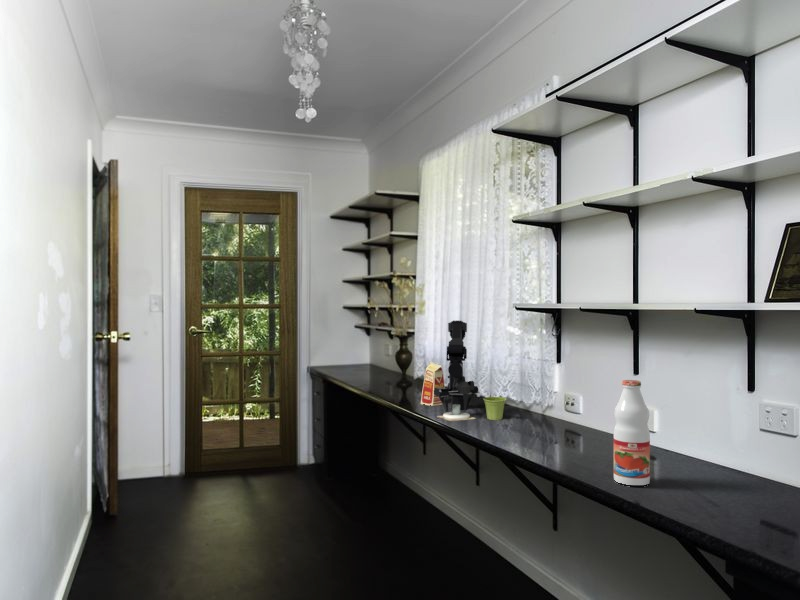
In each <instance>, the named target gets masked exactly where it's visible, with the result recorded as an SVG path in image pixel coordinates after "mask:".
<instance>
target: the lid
mask: <svg viewBox="0 0 800 600" xmlns="http://www.w3.org/2000/svg"><path fill="white" fill-rule="evenodd" d="M451 410H452V411H450V412H444V413H443V414H442V415H443V418H445V419H444V420H446V419H450V420H460V421H465V420H464V419H469V418H470V417H471V415H470V413H468V412H464V411H463V412H462V411H461V410H460V405H459V404H453V405H452V409H451ZM443 418H442V419H443ZM469 420H470V419H469Z"/></svg>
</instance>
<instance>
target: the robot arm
mask: <svg viewBox="0 0 800 600" xmlns="http://www.w3.org/2000/svg"><path fill="white" fill-rule="evenodd" d="M447 332H448V333H449V337H450V338H451V340H449V341H448V345H447V346H446V361H447V362H449V365H448V368H447V372H448V374H449V375H447V379H448V383H447V387H445V388H443V387H439V388H435V389H434V395H436V396H437V397H439V398H440V400H441V402H442V404H443V405H442V407H443V409H444V411H445V413H447V412H448V411H449V409H450V410H452V405H453V404H459V405H460V411H463V410H465V411H467V410H468V408H469V406H470V405H469V404H470V402H471V400H472V398H473V397H474V396H476V394H479V387H478V386H477V385H475V381H473V380H469V381H466V377H465V376H464V362H465V361H466V360H467V358H468V357H467V356H468V355H467V353H468V351H467V347H466V346H465V345H464V339H465V337H466V333H467V332H468V323H467V322H464V321H463V320H452V321H450V322H448V323H447ZM449 397H450V407H449V403H448V402H449Z"/></svg>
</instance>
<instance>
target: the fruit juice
mask: <svg viewBox="0 0 800 600" xmlns="http://www.w3.org/2000/svg"><path fill="white" fill-rule="evenodd" d="M621 387H622V391H621V394H620V398H619V400H618V401H617V404H616V405H615V407H614V409H613V410H614V411H613V414H614V415H613V416H614V420H615V424H614V427H613V481H614V480H615V481H616V482H618V483H622V484H626V485H646V484H650V482H651V481H650V480H651V435H650V433H651V432H650V429H649V426H648V424H649V423H648V422H649V420H650V411H649V408H648V406H647V405H646V403H645V400H644V398H643V394H642V392H641V388H642V382H641V381H640V380H634V379H624V380H622V381H621ZM615 481H614V482H615ZM616 482H615V483H616ZM618 483H617V484H618Z"/></svg>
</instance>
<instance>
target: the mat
mask: <svg viewBox="0 0 800 600" xmlns="http://www.w3.org/2000/svg"><path fill="white" fill-rule="evenodd" d="M436 417H437V418H441V419H443V420H445V421H448V422H456V421H457V422H458V421H459V422H460V421H461V420H450V419H445V418H443V414H442V415H437V416H436ZM475 419H477V417H472V416H470V418H469V419H464V420H463V421H468V420H475Z"/></svg>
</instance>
